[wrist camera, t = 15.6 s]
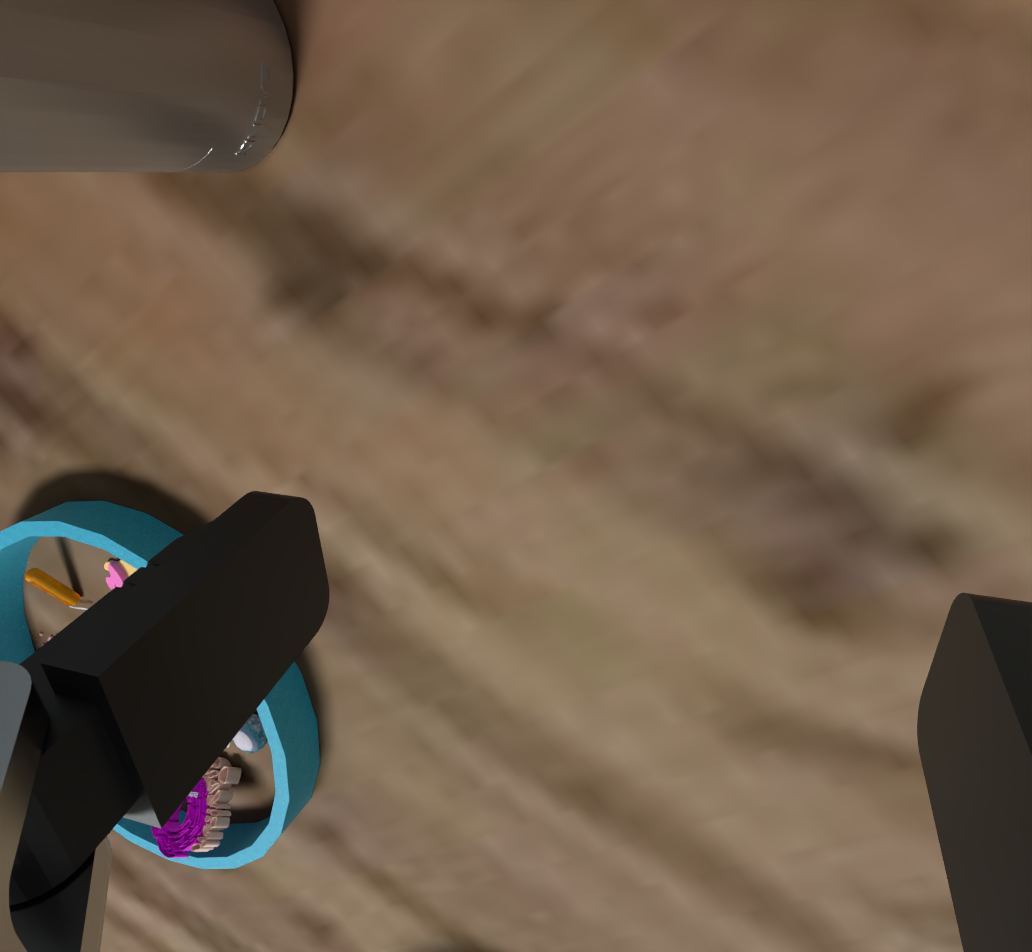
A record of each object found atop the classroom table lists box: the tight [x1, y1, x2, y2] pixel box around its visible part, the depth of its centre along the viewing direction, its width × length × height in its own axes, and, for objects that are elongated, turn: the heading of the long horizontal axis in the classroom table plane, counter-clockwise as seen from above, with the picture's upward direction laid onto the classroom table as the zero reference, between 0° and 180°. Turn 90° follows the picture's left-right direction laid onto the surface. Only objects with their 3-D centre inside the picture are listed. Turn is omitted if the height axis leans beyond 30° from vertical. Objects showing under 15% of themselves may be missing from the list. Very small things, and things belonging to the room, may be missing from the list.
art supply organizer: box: [0, 501, 320, 869], centre depth 53 cm, size 30×30×6 cm
